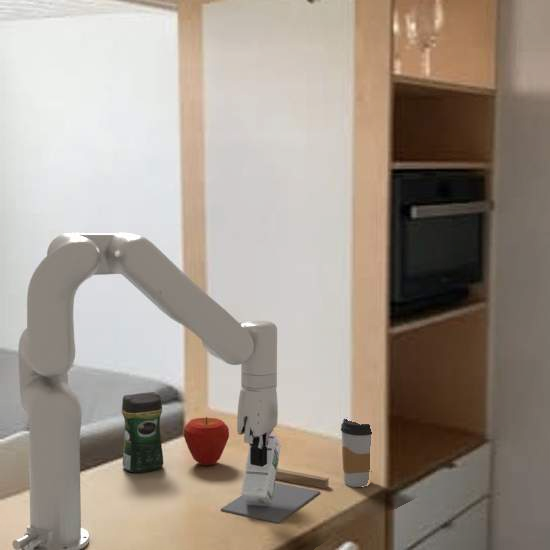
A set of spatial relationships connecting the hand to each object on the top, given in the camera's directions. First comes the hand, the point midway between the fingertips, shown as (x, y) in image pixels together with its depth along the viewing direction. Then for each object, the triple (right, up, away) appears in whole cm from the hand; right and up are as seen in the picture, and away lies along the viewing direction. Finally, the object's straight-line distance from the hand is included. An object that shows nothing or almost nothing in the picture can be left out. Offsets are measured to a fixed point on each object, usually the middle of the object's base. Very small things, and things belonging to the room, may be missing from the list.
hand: (258, 464), depth 187 cm
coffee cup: (+23, -9, +19) cm, 31 cm away
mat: (+3, -10, +7) cm, 12 cm away
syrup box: (-1, -8, +1) cm, 8 cm away
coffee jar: (-29, -7, +28) cm, 41 cm away
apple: (-14, -7, +31) cm, 35 cm away
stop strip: (+9, -8, +19) cm, 22 cm away
